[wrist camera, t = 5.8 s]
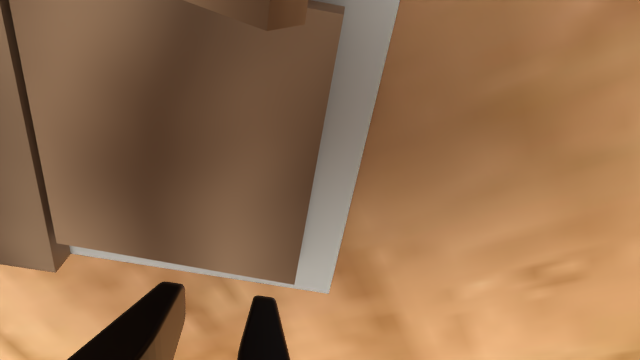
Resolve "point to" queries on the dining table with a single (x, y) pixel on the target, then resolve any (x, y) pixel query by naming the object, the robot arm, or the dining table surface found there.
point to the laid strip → (21, 169)
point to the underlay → (328, 146)
